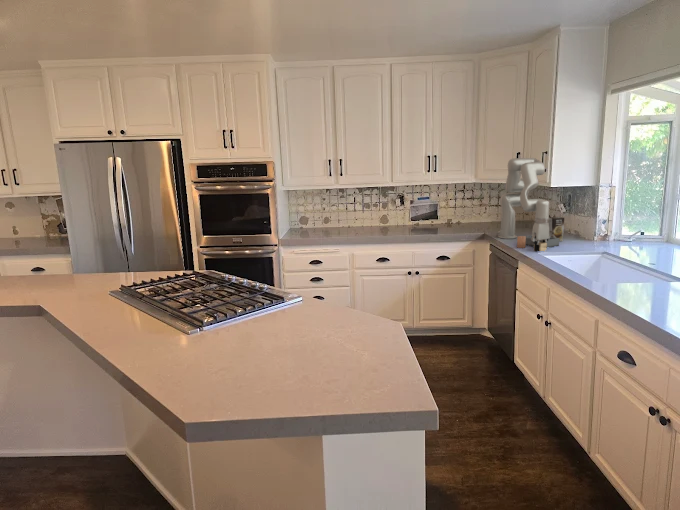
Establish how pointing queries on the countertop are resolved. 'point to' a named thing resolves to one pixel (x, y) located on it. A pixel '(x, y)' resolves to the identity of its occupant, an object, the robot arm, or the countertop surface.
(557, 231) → the coffee box
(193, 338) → the countertop surface
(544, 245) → the maple cube
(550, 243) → the tote
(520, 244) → the terracotta cylinder
